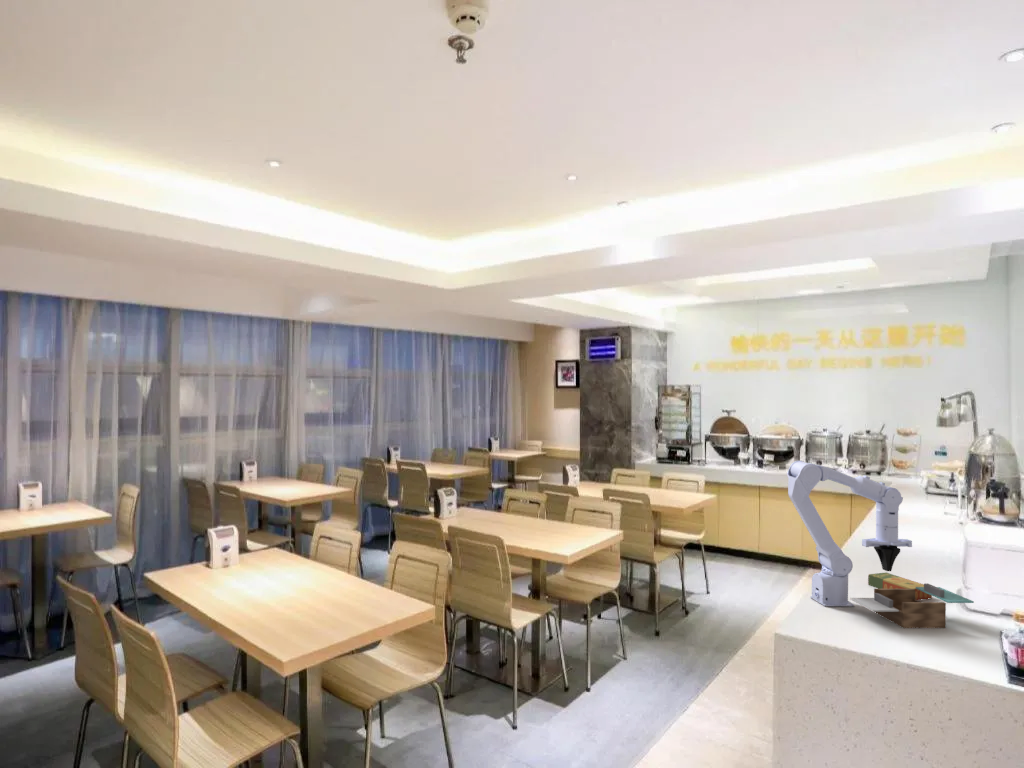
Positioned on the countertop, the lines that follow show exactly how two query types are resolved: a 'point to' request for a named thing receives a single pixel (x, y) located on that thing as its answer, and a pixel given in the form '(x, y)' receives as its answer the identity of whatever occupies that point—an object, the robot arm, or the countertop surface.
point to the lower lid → (876, 603)
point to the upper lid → (943, 594)
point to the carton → (896, 584)
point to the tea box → (913, 610)
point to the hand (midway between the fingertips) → (886, 570)
